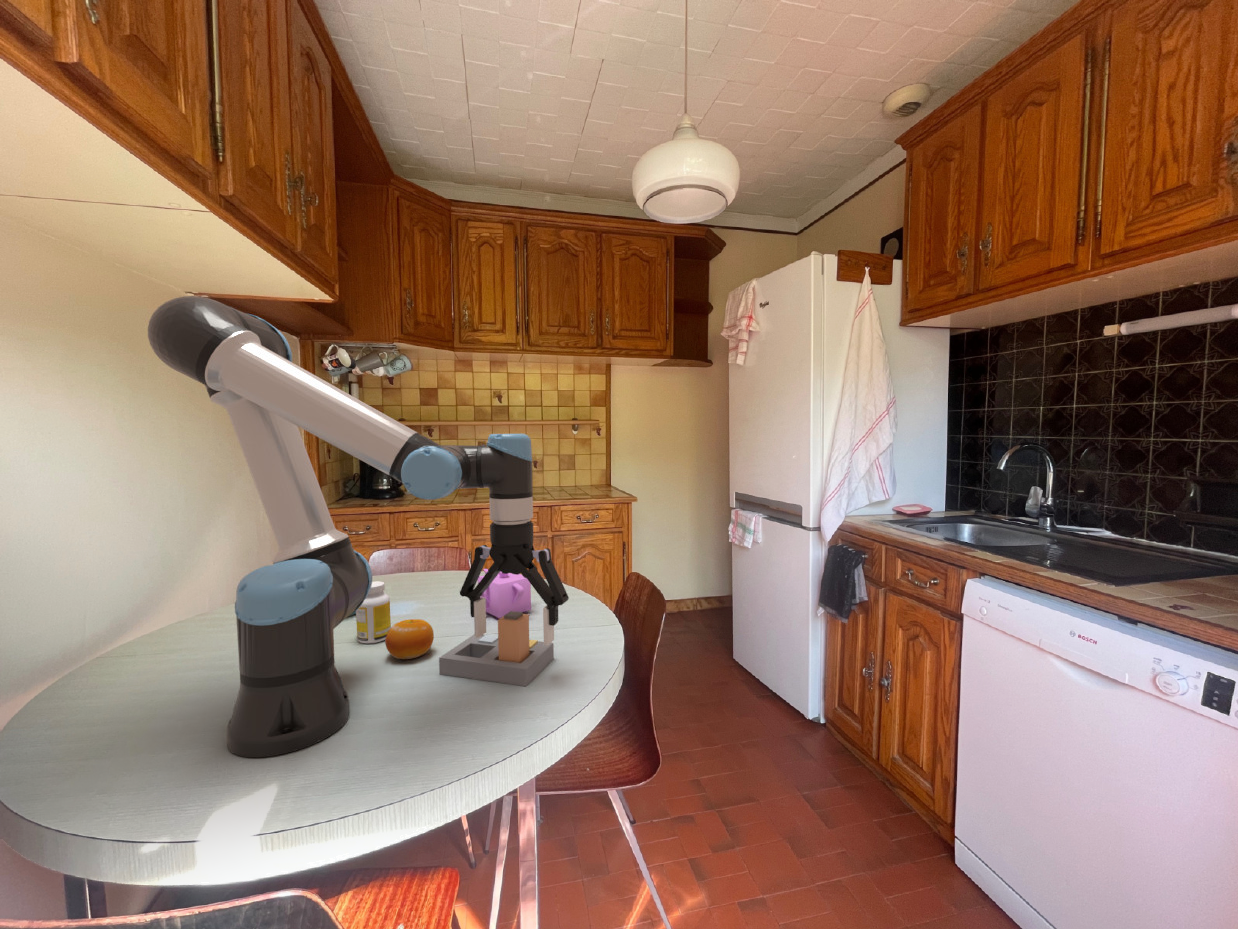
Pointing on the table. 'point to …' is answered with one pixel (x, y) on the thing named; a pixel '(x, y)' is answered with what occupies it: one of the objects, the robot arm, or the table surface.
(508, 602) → the teapot
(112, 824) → the table surface
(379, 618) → the pill bottle
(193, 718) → the table surface
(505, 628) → the plug
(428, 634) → the fruit
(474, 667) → the socket board
